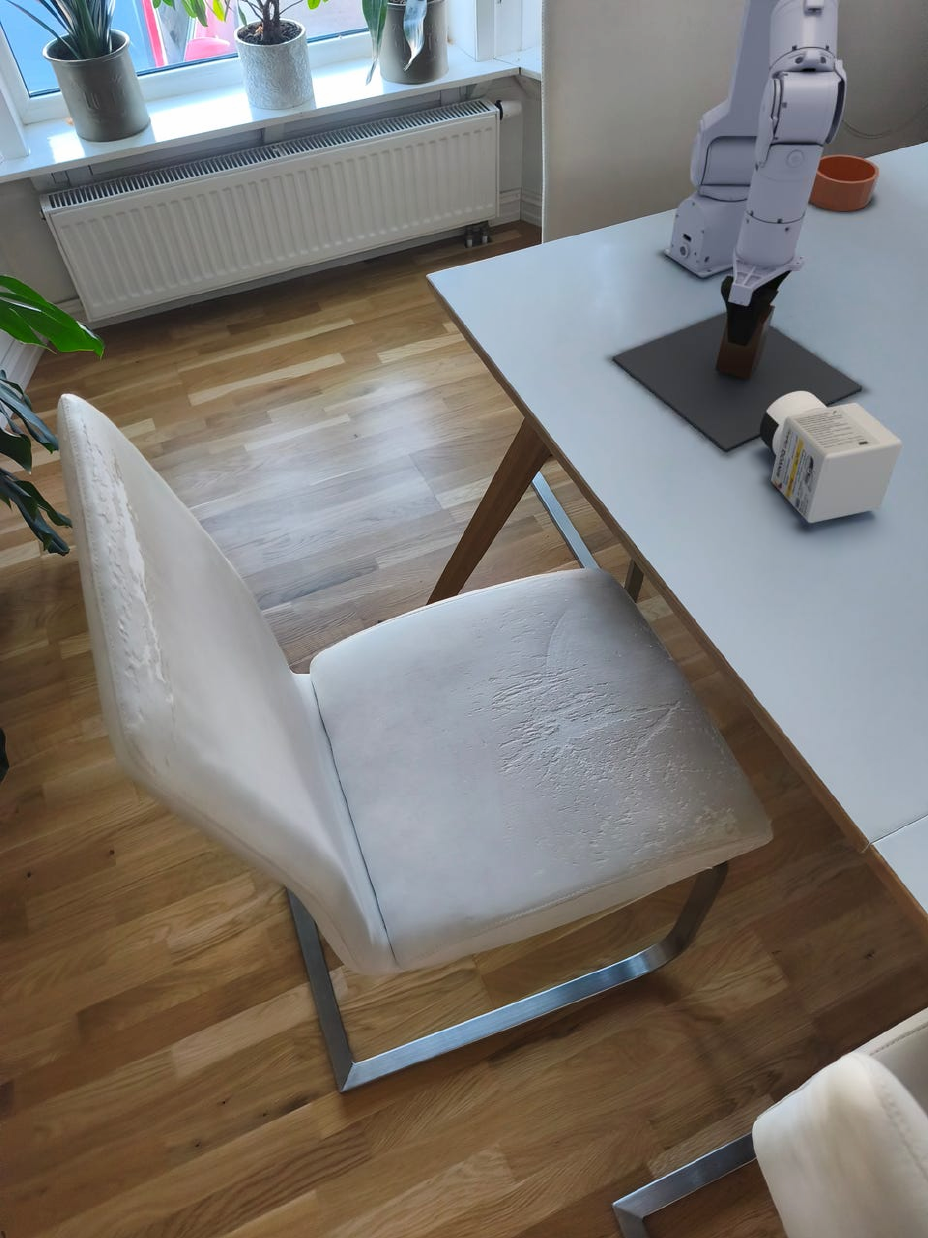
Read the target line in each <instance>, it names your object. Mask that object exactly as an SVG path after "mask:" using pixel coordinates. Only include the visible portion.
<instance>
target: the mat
mask: <svg viewBox="0 0 928 1238" xmlns="http://www.w3.org/2000/svg"><path fill="white" fill-rule="evenodd" d="M726 320H727V311H726V312H725V311H724V312H723V313H720V314H718V315H715V316H713V317H710V318H707V319H705V320H703V321H700V322H697V323H695V324H692V325H689V326H687V327H684V328H682V329H680V330H677V331H675V332H672V333H670V334H666V335H665V336H661V337H659V338H657V339H654V340H651V341H648V342H647V343H644V344H641V345H639V346H635V347H634V348H631V349H629V350H626V351H623V352H621V353H618V354H615V355H613V356H612V359H611V360H612V361H614V362H615V363H616V364H617V365H618V366H620V368H622V369H623V370H625V371H626V373H628V374H629V375H631V376H632V377H633V378H634V379H636V381H638V382H639V383H641V384H642V385H643V386H644V387H646V389H647V390H649V391H650V392H651V393H653V394H654V395H655V396H656V397H658V398H659V399H660V400H661V401H662V402H664V404H666V405H667V406H668V407H670V408H671V409H672V410H674V411H675V412H676V413H677V414H679V415H680V416H681V417H682V418H683V419H685V420H686V421H687V422H688V423H689V424H690V425H692V426H693V427H694V428H696V429H697V430H698V431H699V432H701V433H702V434H703V435H704V436H706V437H707V438H708V439H709V440H710V441H711V442H713V443H714V444H715V445H716V446H717V447H719V448H720V449H721V450H723V451H724V452H728V451H730V450H733V449H736V448H737V447H739V446H741V445H743V444H746V443H748V442H750V441H752V440H754V439H757V438H758V437H759V438H760V437H761V436H760V424H761V421H762V418H763V416H764V414H765V412H766V411H767V410H768V408H769V407H770V406H771V405H772V404H773V403H774V402H775V401H776V400H778V399H779V398H781V397H782V396H784V395H786V394H789V393H792V392H796V391H806V392H809V393H811V394H813V395H814V396H815V397H816V398H818V399H819V400H820V401H821V402H822V403H823V404H824V405H825V406H826V407H827V406H829V405H831V404H834V403H835V402H838V401H840V400H842V399H845V398H846V397H849V396H851V395H853V394H855V393H857V392H860V391H862V390H863V386H862V385H861V384H859V383H858V382H856V381H855V380H853V379H851V378H850V377H848V376H846V374H844V373H843V372H841V371H839V370H838V369H837V368H835V367H833V366H832V365H830V364H829V363H827V362H826V361H824V360H823V359H821V358H820V357H819V356H817V355H815V353H812V352H811V351H809V350H808V349H806V348H805V347H803V346H802V345H800V344H798V342H796V341H794V340H793V339H791V338H790V337H788V336H787V335H785V334H784V333H782V332H781V331H780V330H779V329H778V330H777V329H776V328H775V327H773V326H772V325H770V326H769V330H768V334H767V337H766V341H765V344H764V348H763V352H762V355H761V359H760V362H759V363H758V365H757V367H756V369H755V370H754V372H753V374H752V375H751V377H750V379H745V378H741V377H738V376H734V375H731V374H727V373H723V372H720V371H716V370H715V368H716V363H717V359H718V355H719V350H720V346H721V342H722V337H723V333H724V329H725V325H726Z"/></svg>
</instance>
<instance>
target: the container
mask: <svg viewBox="0 0 928 1238" xmlns="http://www.w3.org/2000/svg"><path fill="white" fill-rule="evenodd" d="M759 437H760V439H761V441H762V442H763V443H764V444H765V446H767V447H768V448H769V449H770V451H771V452H773V454H774V455H775V461H774V465H773V470H772V473H771V479H770V480H771V481H770V482H771V483H772V484H773V485H774V486H775V487H776V489H778V490H779V492H780V493H781V494H782V495H783V496H784V498H786V499H787V500H788V502H789V503H790V504H791V505H792V506H793V507H794V508H795V509H796V511H797V512H799V514H800V515H801V516H802V517H803V519H805V521H806V522H807V523H809V524H813V523H818V522H823V521H828V520H833V519H837V518H841V517H847V516H851V515H856V514H861V513H864V512H865V513H866V512H869V511H875V510H879V509H880V508H881V506H882V504H883V501H884V499H885V495H886V492H887V489H888V486H889V483H890V480H891V477H892V475H893V471H894V469H895V467H896V464H897V463H896V462H897V460H898V457H899V454H900V451H901V448H902V445H903V442H902V440H901V439H900V438H899V437H897V436H896V435H895V434H894V433H893V432H891V431H890V430H889V429H888V428H887V427H885V426H884V424H883V423H881V422H880V421H879V420H878V419H876V418H875V417H874V416H873V415H872V414H871V413H869V411H867V410H866V409H865V408H864V407H862V406H861V405H860V404H859V403H858V402H850V403H846V404H841V405H835V406H831V407H827V406H825V405H824V404H823V403H822V402H821V401H820V400H819V399H818V398H816V397H815V396H814V395H813V394H811V393H809V392H806V391H796V392H792V393H789V394H786V395H784V396H782V397H781V398H779V399H778V400H776V401H775V402H774V403H773V404H772V405H771V406H770V407H769V408H768V410H767V411H766V412H765V414H764V416H763V418H762V421H761V424H760V436H759Z"/></svg>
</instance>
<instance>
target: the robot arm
mask: <svg viewBox="0 0 928 1238" xmlns="http://www.w3.org/2000/svg"><path fill="white" fill-rule="evenodd" d="M741 18H742V19H741V24H740V30H739V34H738V40H737V45H736V49H735V56H734V61H733V66H732V71H731V75H730V81H729V86H728V91H727V92H728V93H727V98H726V99H724V101H722V102H721V103H719V104H718V105H716V106H715V107H713V108H712V109H710V110H708V111H707V112H706V113H704V114H703V115H702V116H701V119H700V120H699V123H698V129H697V133H696V136H695V137H694V140H693V141H694V142H693V146H692V152H691V158H690V169H689V170H690V171H689V173H690V174H689V175H690V176H689V177H690V178H689V180H690V182H691V183H692V185H693V187H695V188H696V189H695V191H694V192H693V193H692V194H691V195H690V196H689V197H687V198H685V199H683V200H682V201H681V202H680V203H679V204H678V206H677V208H676V211H675V214H674V221H673V227H672V234H671V241H670V245H669V248H666V249H665V250H664V254H665V255H666V256H668V257H669V258H671V259H672V260H674V261H675V262H677V263H678V264H679V265H681V266H683V267H684V268H686V269H687V270H689V271H691V272H692V273H694V274H695V275H697V276H698V277H699V278H707V277H710V276H712V275H715V274H717V273H721V272H722V271H726V270H728V269H731V268H732V275H728V274H727V275H726V276H725V277H724V279H723V280H722V282H721V285H720V294H721V297H722V300H723V302H724V304H725V305H724V306H725V309H726V312H727V334H728V342H730V343H734V344H737V345H741V346H746V345H747V344H748V342H749V341H750V339H751V337H752V335H753V333H754V331H755V329H756V326H757V324H758V322H759V319H760V317H761V315H762V313H763V312H764V310H765V309H766V308H767V307H768V306H769V305H772V302H773V301H774V300H775V299H776V297H777V295H778V294H779V293H780V291H779V287H780V286H781V284H782V283H783V282H784V281H785V279H787V277H788V276H789V275H791V273H792V272H799V271H800V270H801V269H802V268H803V266H804V263H805V259H806V258H805V257H804V256H803V255H799V254H796V253H795V251H796V247H797V243H798V241H799V236H800V233H801V229H802V226H803V222H804V219H805V215H806V212H807V208H808V204H809V202H810V201H809V198H810V194H811V191H812V187H813V184H814V180H815V176H816V173H817V169H818V166H819V162H820V159H821V158H822V154H823V151H824V143H825V144H826V145H830V144H832V143H833V141H834V140H835V138H836V136H837V134H838V131H839V128H840V125H841V122H842V118H843V114H844V111H845V110H844V109H845V105H846V98H847V96H846V95H847V88H848V87H847V85H848V79H847V72H846V71H845V69H844V68H843V67H844V66H843V60H842V59H838V58H837V57H838V55H837V54H838V53H837V52H838V48H837V47H838V27H839V26H838V22H839V21H838V20H839V0H745V3H744V8H743V13H742V17H741Z"/></svg>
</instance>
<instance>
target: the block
mask: <svg viewBox="0 0 928 1238" xmlns="http://www.w3.org/2000/svg"><path fill="white" fill-rule="evenodd" d="M775 308H776V306H775V305H772V304H770V305H769V306H768V307H767V308H766V309H765V310H764V312H763V313H762V315H761V317H760V319H759V322H758V324H757V326H756V329H755V331H754V333H753V335H752V337H751V339H750V341H749V342H748V344H747V345H746V346H741V345H737V344H734V343H730V342H728V334H727V320H726V325H725V329H724V333H723V337H722V342H721V346H720V350H719V355H718V359H717V363H716V368H715V370H716V371H720V372H723V373H727V374H731V375H734V376H738V377H741V378H745V379H750V377H751V375H752V374H753V372H754V370H755V369H756V367H757V365H758V363H759V362H760V359H761V355H762V352H763V348H764V344H765V341H766V337H767V334H768V330H769V326H771V324H772V323H771V322H772V318H773V316H774V311H775Z"/></svg>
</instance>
